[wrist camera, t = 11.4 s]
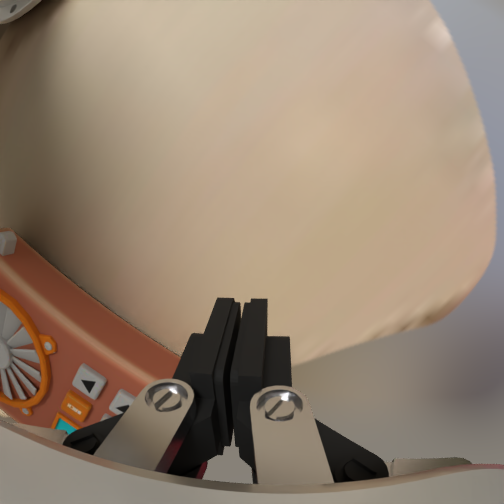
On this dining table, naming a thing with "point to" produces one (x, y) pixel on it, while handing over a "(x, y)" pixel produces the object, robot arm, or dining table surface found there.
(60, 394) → the control panel
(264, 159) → the dining table surface
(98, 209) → the dining table surface
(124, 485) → the robot arm
